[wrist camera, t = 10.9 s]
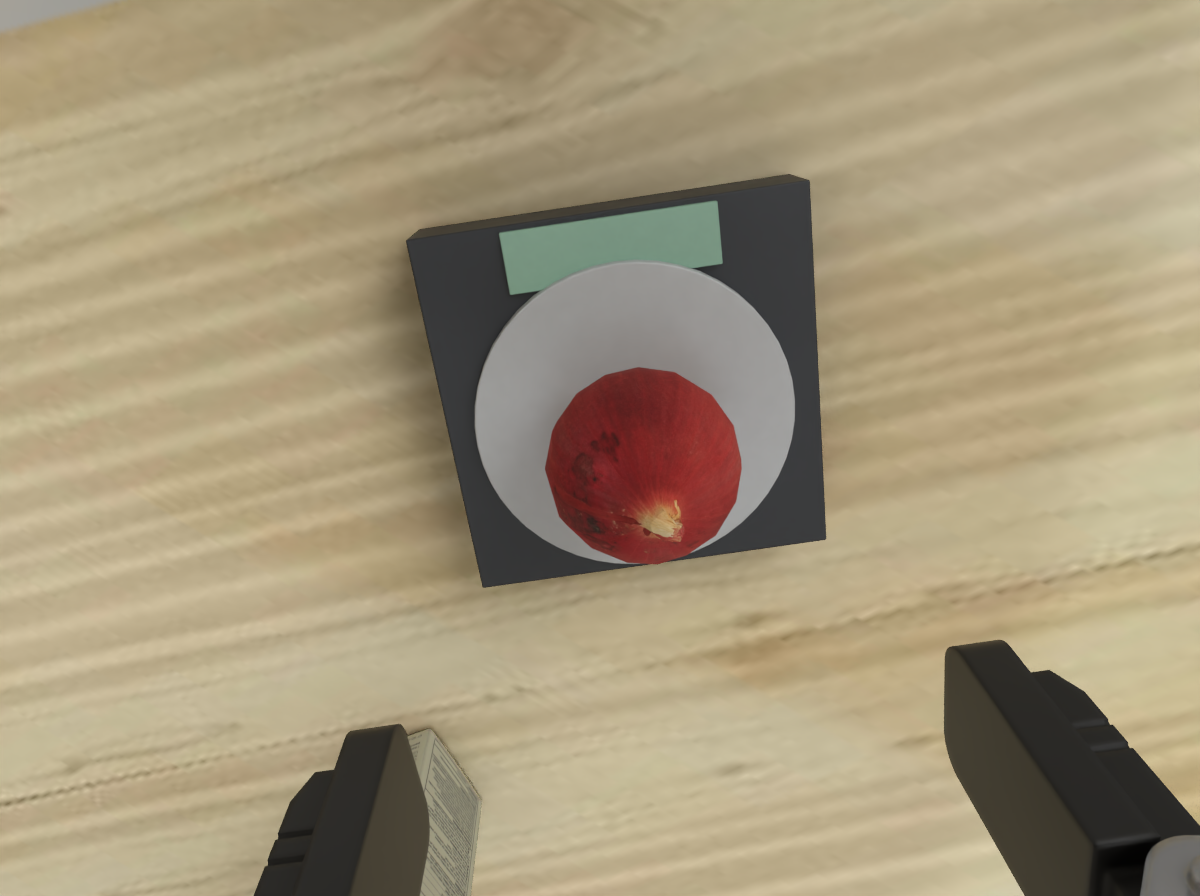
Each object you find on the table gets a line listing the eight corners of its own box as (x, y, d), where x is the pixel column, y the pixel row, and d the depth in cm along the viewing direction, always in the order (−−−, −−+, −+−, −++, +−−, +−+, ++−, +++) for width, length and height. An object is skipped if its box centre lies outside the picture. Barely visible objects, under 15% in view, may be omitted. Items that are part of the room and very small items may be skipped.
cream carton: (344, 757, 38) (271, 969, 29) (432, 723, 37) (387, 927, 28) (402, 837, 40) (351, 1061, 30) (486, 805, 39) (461, 1023, 30)
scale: (417, 229, 30) (402, 242, 27) (791, 173, 29) (815, 181, 27) (488, 556, 34) (481, 596, 32) (809, 510, 34) (831, 547, 31)
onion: (575, 516, 31) (577, 649, 23) (528, 367, 28) (513, 460, 21) (734, 475, 30) (788, 596, 23) (698, 320, 28) (744, 398, 21)
